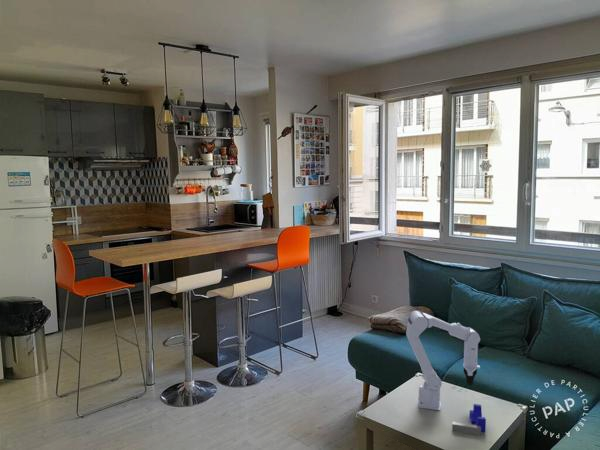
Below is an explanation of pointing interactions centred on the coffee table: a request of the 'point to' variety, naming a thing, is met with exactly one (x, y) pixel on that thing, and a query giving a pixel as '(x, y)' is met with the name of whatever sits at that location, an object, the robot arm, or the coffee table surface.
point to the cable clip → (478, 417)
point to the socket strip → (466, 428)
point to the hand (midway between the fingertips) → (469, 384)
